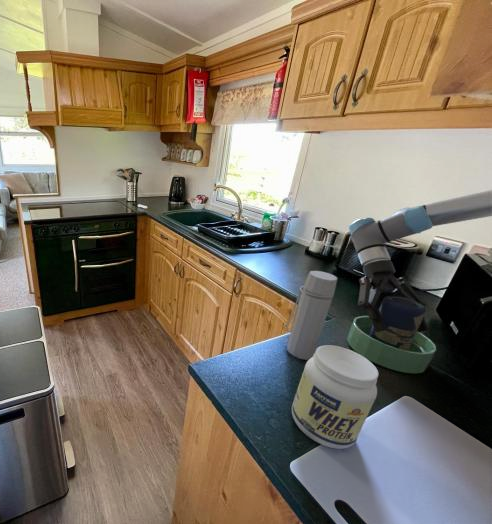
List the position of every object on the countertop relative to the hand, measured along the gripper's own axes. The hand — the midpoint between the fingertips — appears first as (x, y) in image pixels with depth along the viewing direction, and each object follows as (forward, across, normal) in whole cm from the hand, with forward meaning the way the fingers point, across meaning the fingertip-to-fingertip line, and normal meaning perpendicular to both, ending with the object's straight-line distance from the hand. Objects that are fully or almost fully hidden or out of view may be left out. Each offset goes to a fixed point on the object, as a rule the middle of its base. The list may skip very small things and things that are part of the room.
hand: (402, 331), depth 83 cm
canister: (+5, 0, -8) cm, 9 cm away
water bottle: (+5, +28, -9) cm, 30 cm away
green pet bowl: (+5, 0, -8) cm, 9 cm away
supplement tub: (+22, +38, +9) cm, 45 cm away
